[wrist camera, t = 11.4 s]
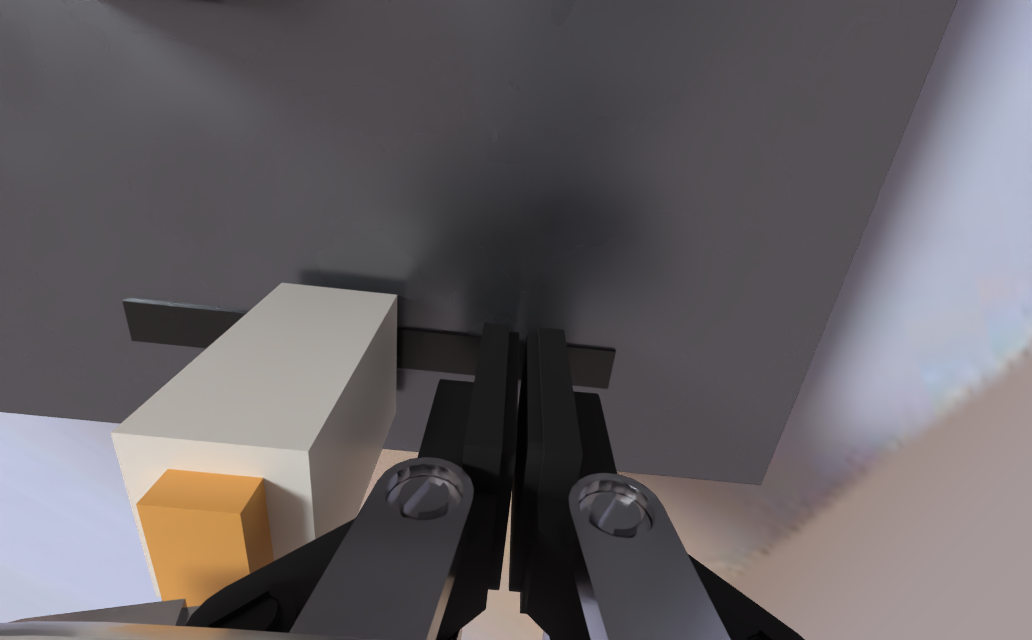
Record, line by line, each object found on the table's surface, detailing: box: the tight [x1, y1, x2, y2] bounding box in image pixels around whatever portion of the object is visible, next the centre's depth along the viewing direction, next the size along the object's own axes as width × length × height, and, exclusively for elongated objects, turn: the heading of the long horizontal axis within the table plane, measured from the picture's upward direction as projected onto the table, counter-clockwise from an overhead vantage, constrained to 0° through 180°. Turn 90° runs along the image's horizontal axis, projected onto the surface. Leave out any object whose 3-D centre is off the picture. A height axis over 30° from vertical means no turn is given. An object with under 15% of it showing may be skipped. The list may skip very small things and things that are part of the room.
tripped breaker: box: [111, 283, 397, 607], centre depth 9 cm, size 2×3×6 cm
